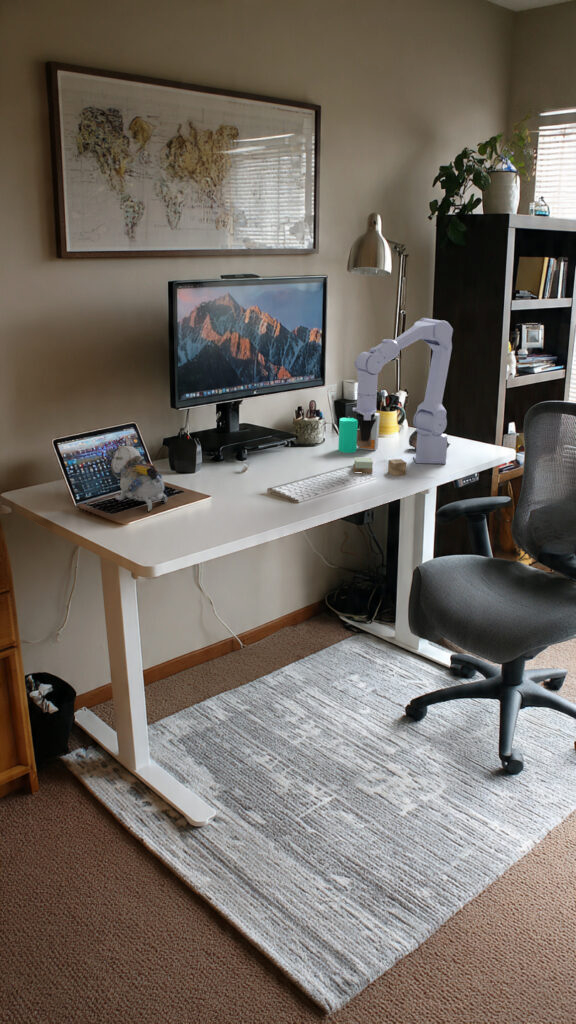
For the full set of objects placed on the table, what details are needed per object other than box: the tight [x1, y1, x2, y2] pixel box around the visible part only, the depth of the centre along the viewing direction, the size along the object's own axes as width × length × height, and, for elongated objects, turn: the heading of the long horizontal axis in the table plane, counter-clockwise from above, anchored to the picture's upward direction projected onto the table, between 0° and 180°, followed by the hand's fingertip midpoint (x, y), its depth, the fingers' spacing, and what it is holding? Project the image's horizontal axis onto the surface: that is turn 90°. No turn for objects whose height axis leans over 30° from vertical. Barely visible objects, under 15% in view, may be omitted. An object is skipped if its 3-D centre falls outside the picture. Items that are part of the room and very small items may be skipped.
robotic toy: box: [107, 445, 168, 511], centre depth 218 cm, size 13×17×15 cm
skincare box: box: [357, 412, 381, 452], centre depth 277 cm, size 6×4×12 cm
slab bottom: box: [352, 462, 373, 475], centre depth 253 cm, size 6×6×2 cm
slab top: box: [353, 456, 374, 468], centre depth 253 cm, size 5×5×2 cm
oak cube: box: [387, 458, 408, 477], centre depth 251 cm, size 4×4×4 cm
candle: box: [337, 417, 359, 454], centre depth 274 cm, size 6×6×12 cm
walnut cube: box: [357, 429, 371, 447], centre depth 250 cm, size 4×4×4 cm
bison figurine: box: [408, 430, 451, 449], centre depth 276 cm, size 12×7×10 cm
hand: (364, 438), depth 250 cm, fingers closed on walnut cube, 4 cm apart
